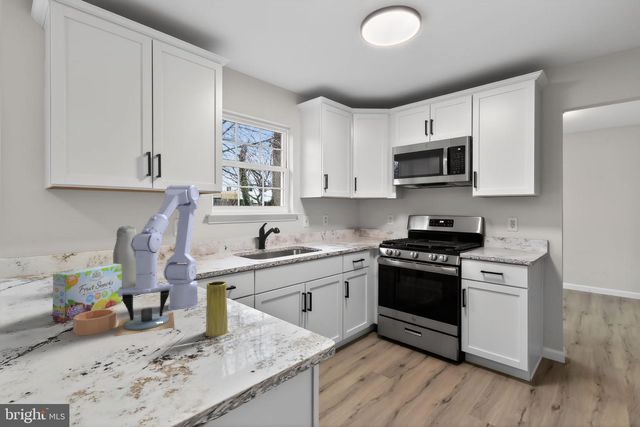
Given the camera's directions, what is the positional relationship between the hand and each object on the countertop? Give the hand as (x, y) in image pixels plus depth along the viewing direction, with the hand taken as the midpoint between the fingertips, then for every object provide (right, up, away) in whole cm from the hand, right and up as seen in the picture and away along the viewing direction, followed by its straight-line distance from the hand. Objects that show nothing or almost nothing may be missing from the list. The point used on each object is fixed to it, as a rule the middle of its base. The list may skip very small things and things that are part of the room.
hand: (146, 317), depth 95 cm
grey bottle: (-33, -2, +44) cm, 55 cm away
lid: (0, -2, 0) cm, 2 cm away
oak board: (0, -2, 0) cm, 2 cm away
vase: (+24, -3, -7) cm, 25 cm away
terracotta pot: (-13, -2, -4) cm, 13 cm away
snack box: (-26, -2, +13) cm, 29 cm away
